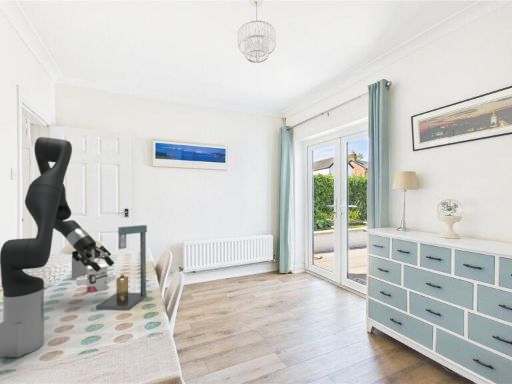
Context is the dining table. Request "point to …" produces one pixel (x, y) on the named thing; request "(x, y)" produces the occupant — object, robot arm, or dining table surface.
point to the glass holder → (78, 267)
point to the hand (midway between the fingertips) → (106, 267)
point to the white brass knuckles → (83, 279)
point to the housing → (122, 288)
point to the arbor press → (137, 297)
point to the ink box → (97, 279)
